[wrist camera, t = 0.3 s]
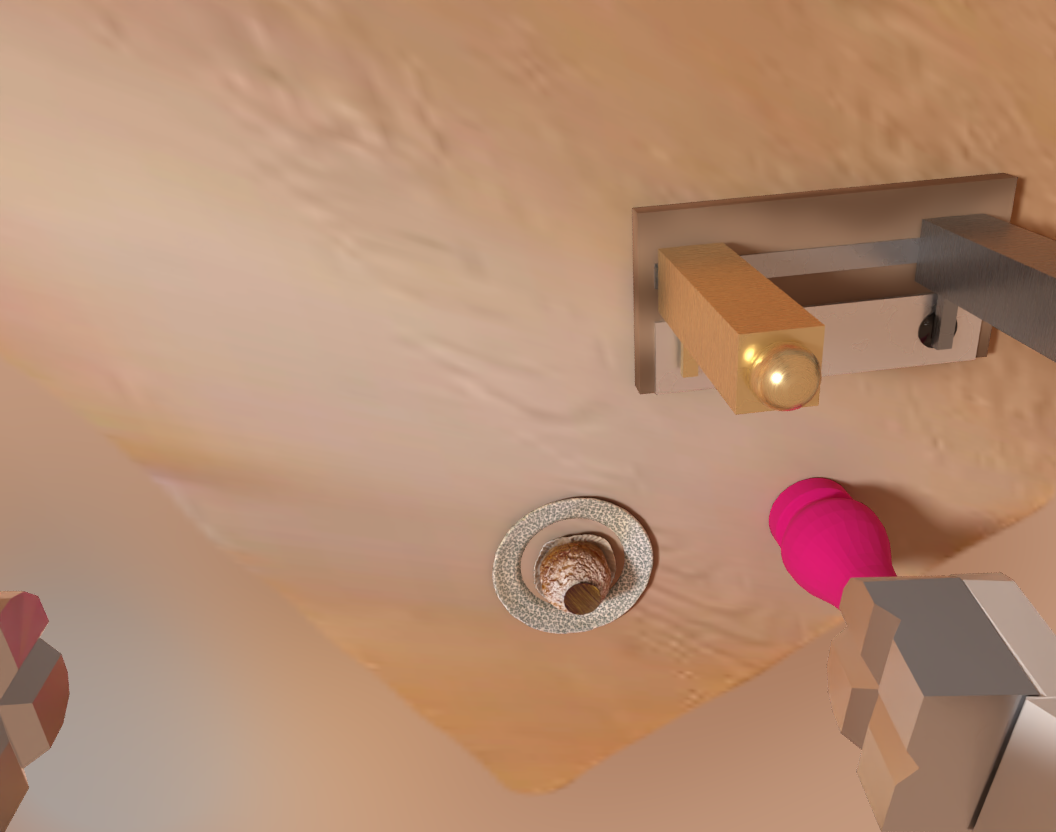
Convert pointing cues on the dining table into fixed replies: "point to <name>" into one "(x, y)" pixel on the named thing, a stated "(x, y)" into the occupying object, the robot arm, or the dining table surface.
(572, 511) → the pastry
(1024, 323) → the fixed leg
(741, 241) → the walnut board
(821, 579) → the pepper mill
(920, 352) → the bolt strip
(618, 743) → the dining table surface
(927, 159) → the dining table surface
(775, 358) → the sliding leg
